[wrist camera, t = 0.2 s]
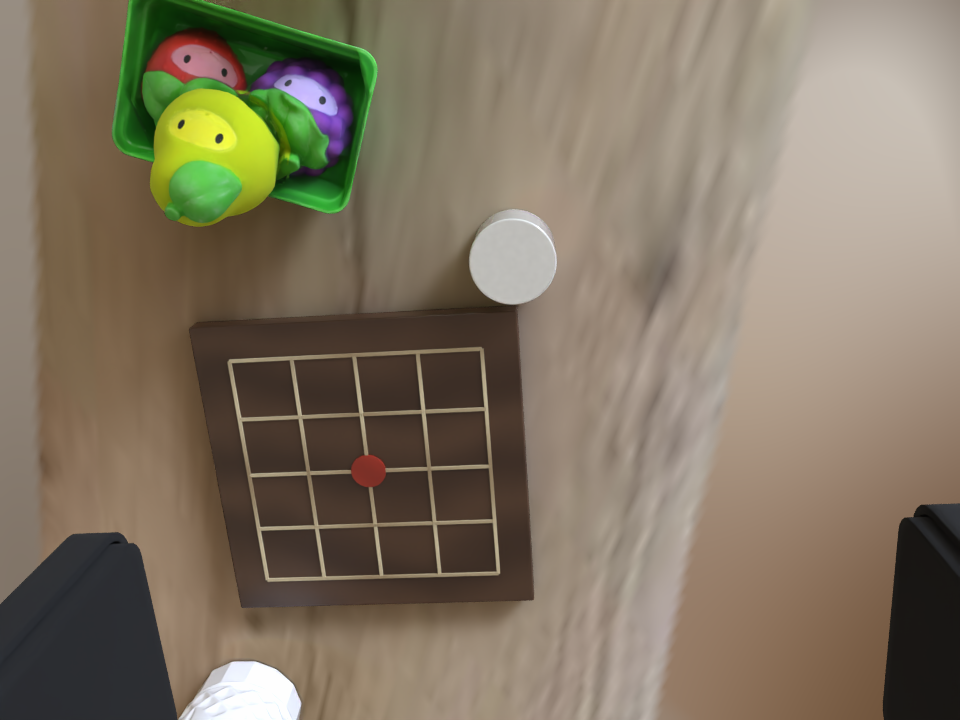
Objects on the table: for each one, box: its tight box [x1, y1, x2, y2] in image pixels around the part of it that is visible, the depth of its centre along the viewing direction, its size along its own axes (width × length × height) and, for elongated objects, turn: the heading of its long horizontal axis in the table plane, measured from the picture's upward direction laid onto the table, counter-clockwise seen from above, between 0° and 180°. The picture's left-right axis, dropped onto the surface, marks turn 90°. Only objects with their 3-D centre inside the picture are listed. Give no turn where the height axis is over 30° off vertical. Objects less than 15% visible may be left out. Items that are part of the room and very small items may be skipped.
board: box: [189, 306, 534, 608], centre depth 50 cm, size 18×18×1 cm
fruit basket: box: [112, 0, 378, 227], centre depth 39 cm, size 11×9×11 cm
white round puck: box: [469, 209, 557, 305], centre depth 44 cm, size 4×4×3 cm
